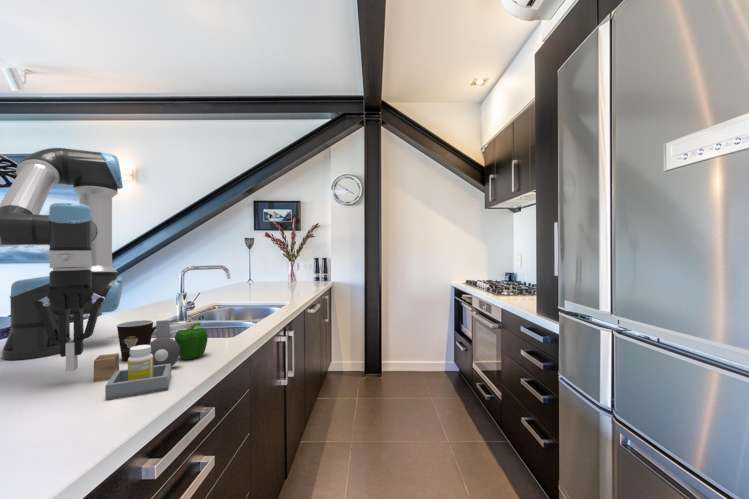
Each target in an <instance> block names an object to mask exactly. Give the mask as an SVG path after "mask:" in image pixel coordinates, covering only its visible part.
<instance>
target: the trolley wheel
mask: <svg viewBox="0 0 749 499" xmlns="http://www.w3.org/2000/svg"><path fill="white" fill-rule="evenodd" d="M170 320H171V319H164V320H163V319H162V320H156V323H155V327H156V329H155V332H156V333H155V334H156V335H155V339H154V340H151V342H150V343H149V344H148V345H151V352H150V353H151V354H152V355H153V366H155V365H163V364H170V363H171V368H172V367H174V365H175V364H176V363H178V359H179V358H180V356H179V353H180V348H179V345H178V343H177V342H176V341H175V339H173V338H171V337H170V336H171V334H170V333H171V332H170V331H171V329H170V326H171V325H170V324H171V322H170Z"/></svg>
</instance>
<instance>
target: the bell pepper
mask: <svg viewBox="0 0 749 499" xmlns="http://www.w3.org/2000/svg"><path fill="white" fill-rule="evenodd" d="M201 324H202V321H201V322H200V321H196V322H195V321H194V322H193V323H192V324H190V327H188V328H186V329H179V330H178V331H176V333H175V335H174V340H175V341H176V342H177V343H178V345H179V348H180V353H179V358H180V359H181V360H192V359H195V358H199V357H202V356H203V355H204V353H205V352H206V349H207V345H208V338H209V337H208V332H207V330H206V328H205V327H198V328H197V327H196V326H201ZM195 327H196V328H195Z"/></svg>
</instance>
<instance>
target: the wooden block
mask: <svg viewBox="0 0 749 499" xmlns="http://www.w3.org/2000/svg"><path fill="white" fill-rule="evenodd" d="M118 370H120V353H118V352H116V353H109V354H100V355H98V356H97V357H96V358H95V359H94V360H93V382H94V383H96V382H97V383H98V382H103V381H109V380H110V379H111V377H112V376H113V374H114V373H115V372H116V371H118Z"/></svg>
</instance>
